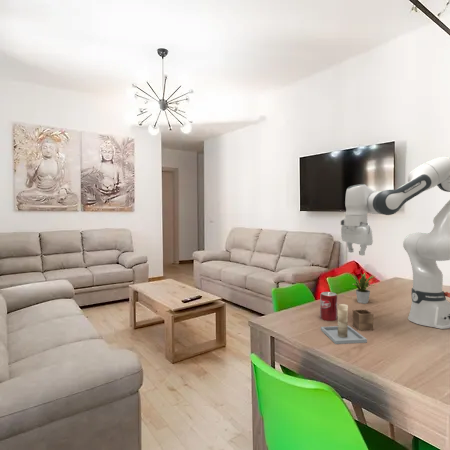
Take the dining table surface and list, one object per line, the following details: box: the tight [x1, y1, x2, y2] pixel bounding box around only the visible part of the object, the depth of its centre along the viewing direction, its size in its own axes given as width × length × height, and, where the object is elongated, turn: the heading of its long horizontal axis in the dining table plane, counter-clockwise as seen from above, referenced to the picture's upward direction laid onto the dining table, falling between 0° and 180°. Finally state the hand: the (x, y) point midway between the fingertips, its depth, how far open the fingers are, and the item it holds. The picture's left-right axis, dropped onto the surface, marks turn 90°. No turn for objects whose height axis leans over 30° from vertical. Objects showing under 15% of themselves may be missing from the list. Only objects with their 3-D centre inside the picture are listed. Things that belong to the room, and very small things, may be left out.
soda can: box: [319, 291, 338, 322], centre depth 144 cm, size 7×7×12 cm
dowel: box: [337, 303, 349, 338], centre depth 124 cm, size 4×4×12 cm
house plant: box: [351, 271, 375, 305], centre depth 170 cm, size 14×14×16 cm
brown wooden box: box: [351, 309, 374, 332], centre depth 132 cm, size 6×6×8 cm
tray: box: [320, 325, 368, 345], centre depth 124 cm, size 12×14×2 cm
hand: (356, 253), depth 139 cm, fingers open, 8 cm apart
